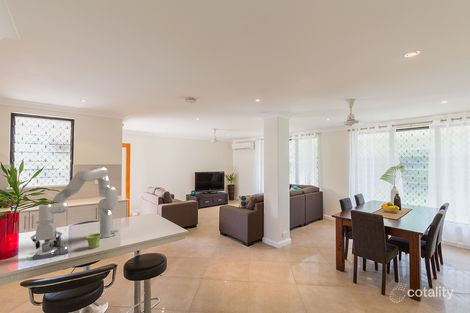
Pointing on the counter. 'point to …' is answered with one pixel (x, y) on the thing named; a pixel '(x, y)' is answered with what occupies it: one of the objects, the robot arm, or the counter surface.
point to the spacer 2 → (63, 250)
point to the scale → (50, 253)
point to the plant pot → (93, 240)
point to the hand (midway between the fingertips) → (46, 247)
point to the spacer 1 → (46, 246)
